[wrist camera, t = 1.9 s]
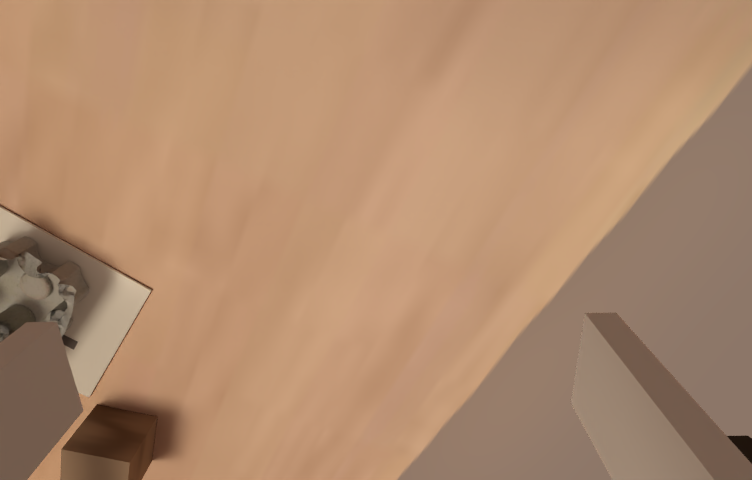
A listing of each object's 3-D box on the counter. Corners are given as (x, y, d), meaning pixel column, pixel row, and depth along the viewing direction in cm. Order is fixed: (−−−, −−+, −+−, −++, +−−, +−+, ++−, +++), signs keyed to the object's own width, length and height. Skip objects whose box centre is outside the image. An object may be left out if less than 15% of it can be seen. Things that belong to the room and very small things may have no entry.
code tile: (-82, 311, 38) (-85, 313, 37) (-33, 187, 34) (-36, 188, 34) (90, 396, 41) (88, 398, 40) (152, 289, 37) (150, 291, 37)
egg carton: (12, 220, 35) (-33, 241, 31) (108, 279, 36) (76, 306, 33) (-45, 323, 38) (-92, 354, 34) (47, 374, 39) (11, 408, 36)
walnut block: (94, 448, 43) (59, 497, 38) (97, 403, 41) (61, 449, 36) (152, 459, 43) (124, 509, 38) (157, 416, 41) (129, 462, 37)
